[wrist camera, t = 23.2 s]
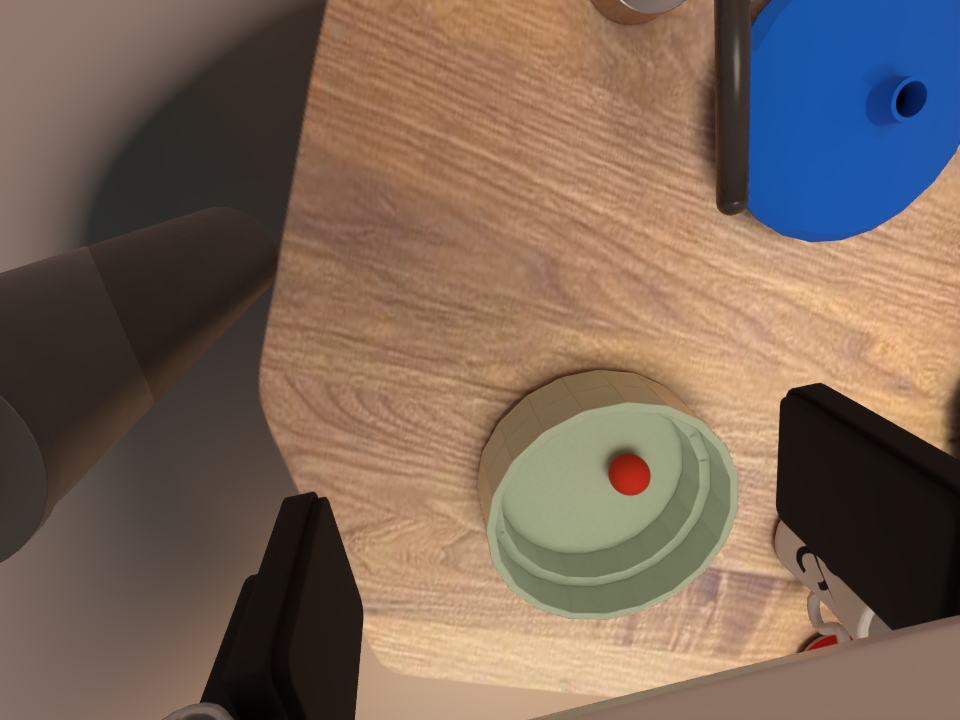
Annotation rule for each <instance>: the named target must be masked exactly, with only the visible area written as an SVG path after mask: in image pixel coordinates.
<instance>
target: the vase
mask: <svg viewBox="0 0 960 720" xmlns="http://www.w3.org/2000/svg"><path fill="white" fill-rule="evenodd" d="M959 144H960V0H771V1H770V2H769V4H768V5H767V6H766V7H765V8H764V9H763V10H762V11H761V12H760V14H759V15H758V16H757V17H756V18H755V20H754V21H753V23H752V25H751V73H750V152H749V202H748V205H747V206H746V207H747V208H748V209H749V210H750V212H751V213H752V214H753V215H754V216H755V217H756V218H757V219H758V220H759V221H760V222H762V223H764V224H765V225H767V226H768V227H770V228H772V229H773V230H775V231H776V232H778V233H780V234H781V235H783V236H788V237H792V238H796V239H800V240H804V241H808V242H820V241H837V240H843V239H846V238H849V237H852V236H855V235H858V234H861V233H864V232H867V231H870V230H873V229H874V228H876V227H878V226H879V225H881V224H882V223H884V222H886V221H887V220H889V219H891V218H892V217H894V216H896V215H897V214H899V213H900V212H902V211H903V210H904V209H905V208H906V207H907V206H908V205H909V204H910V203H912V202H913V201H914V200H915V199H916V198H917V197H918V196H919V195H920V194H921V193H922V192H923V191H924V190H925V189H927V188H928V187H929V186H930V185H931V184H932V183H933V182H934V181H935V180H936V178H937V177H938V175H939V174H940V173H941V171H942V170H943V169H944V167H945V166H946V165H947V163H948V162H949V160H950V159H951V158H952V156H953V155H954V154H955V152H956V151H957V148H958V146H959Z"/></svg>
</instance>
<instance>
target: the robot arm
mask: <svg viewBox="0 0 960 720" xmlns="http://www.w3.org/2000/svg"><path fill="white" fill-rule="evenodd" d="M776 508H777V512H778V514H779V517H780V518H781V520H782V521H783V523H784V524H785V525H786V526H787V527H788V528H789V529H790V530H791V531H792V532H793V533H794V534H795V535H796V536H797V537H798V538H799V539H800V540H801V541H802V542H803V543H804V544H805V545H806V546H807V547H808V548H809V549H810V550H811V551H812V552H813V553H814V554H815V555H817V556H818V557H819V558H820V559H821V560H822V561H823V562H824V563H825V564H826V565H827V566H828V567H829V568H830V569H831V570H832V571H833V572H834V573H835V574H836V575H837V576H838V577H839V578H840V579H841V580H842V581H843V582H844V583H845V584H846V585H847V586H848V587H849V588H850V589H851V590H852V591H853V592H854V593H855V594H856V595H857V596H858V597H859V598H860V599H861V600H862V601H863V602H864V603H865V604H866V605H867V606H868V607H869V608H870V609H871V610H872V611H873V612H874V613H875V614H876V615H877V616H878V617H879V618H880V619H881V620H882V621H883V622H884V623H885V624H886V625H887V626H888V627H889V628H890V629H891V630H892V631H889V632H885V633H881V634H877V635H872V636H868V637H864V638H860V639H856V640H851V641H847V642H843V643H839V644H835V645H830V646H826V647H822V648H818V649H813V650H809V651H805V652H801V653H797V654H793V655H789V656H784V657H780V658H776V659H772V660H768V661H764V662H760V663H756V664H752V665H747V666H743V667H739V668H735V669H731V670H727V671H723V672H719V673H715V674H711V675H706V676H702V677H698V678H694V679H690V680H686V681H682V682H678V683H674V684H670V685H666V686H662V687H658V688H653V689H649V690H645V691H641V692H637V693H633V694H629V695H625V696H621V697H617V698H613V699H610V700H606V701H601V702H597V703H593V704H589V705H586V706H581V707H577V708H573V709H569V710H565V711H561V712H557V713H553V714H550V715H545V716H542V717H537V718H533V719H529V720H960V461H959V460H958V459H956V458H954V457H952V456H951V455H949V454H947V453H945V452H943V451H942V450H940V449H938V448H936V447H935V446H933V445H931V444H929V443H927V442H926V441H924V440H922V439H920V438H919V437H917V436H915V435H913V434H912V433H910V432H908V431H906V430H904V429H903V428H901V427H899V426H897V425H896V424H894V423H892V422H890V421H889V420H887V419H885V418H883V417H881V416H880V415H878V414H876V413H874V412H873V411H871V410H869V409H867V408H866V407H864V406H862V405H860V404H858V403H857V402H855V401H853V400H851V399H850V398H848V397H846V396H844V395H842V394H841V393H839V392H837V391H835V390H834V389H832V388H830V387H828V386H827V385H825V384H822V383H815V384H811V385H806V386H802V387H797V388H792V389H791V390H789V391H788V393H787V395H786V397H784V398H783V399H782V400H781V403H780V419H779V443H778V468H777V492H776ZM362 630H363V606H362V601H361V597H360V594H359V591H358V588H357V585H356V582H355V579H354V576H353V573H352V570H351V567H350V564H349V561H348V558H347V555H346V552H345V549H344V546H343V543H342V540H341V536H340V533H339V530H338V527H337V524H336V521H335V518H334V515H333V512H332V509H331V506H330V503H329V501H328V499H327V497H322V498H318V496H317V494H316V493H315V492H310V493H305V494H301V495H296V496H291V497H287V498H285V499H284V500H283V502H282V505H281V508H280V511H279V514H278V517H277V519H276V522H275V525H274V528H273V531H272V534H271V537H270V540H269V543H268V546H267V549H266V551H265V554H264V557H263V561H262V563H261V566H260V569H259V572H258V574H256V575H251V576H249V577H248V578H247V579H246V580H245V582H244V584H243V587H242V589H241V592H240V595H239V597H238V600H237V603H236V605H235V608H234V611H233V614H232V616H231V619H230V622H229V625H228V628H227V630H226V633H225V636H224V638H223V641H222V644H221V646H220V650H219V652H218V654H217V657H216V660H215V663H214V666H213V668H212V671H211V673H210V676H209V679H208V682H207V684H206V687H205V690H204V692H203V695H202V698H201V701H200V703H199V704H192V705H189V706H187V707H184V708H182V709H180V710H177V711H175V712H173V713H171V714H170V715H168V716H167V717H165V718H164V719H162V720H355V710H356V699H357V686H358V676H359V664H360V653H361V641H362Z"/></svg>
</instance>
